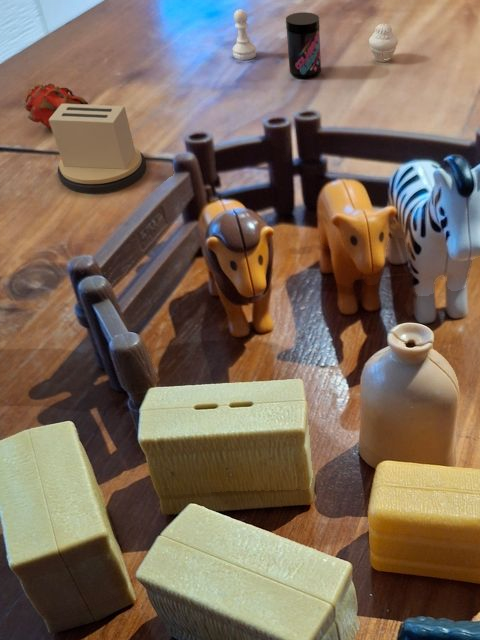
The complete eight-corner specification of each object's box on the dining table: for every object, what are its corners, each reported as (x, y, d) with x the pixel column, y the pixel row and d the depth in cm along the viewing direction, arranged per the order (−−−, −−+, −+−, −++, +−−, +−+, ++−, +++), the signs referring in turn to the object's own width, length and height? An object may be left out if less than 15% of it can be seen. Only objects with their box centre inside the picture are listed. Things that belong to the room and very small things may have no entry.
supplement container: (288, 80, 151) (284, 25, 143) (290, 66, 155) (286, 12, 147) (321, 79, 151) (319, 24, 143) (321, 66, 155) (319, 11, 147)
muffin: (395, 65, 155) (397, 29, 150) (367, 64, 156) (367, 28, 150) (397, 53, 159) (399, 18, 154) (370, 52, 160) (370, 17, 154)
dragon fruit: (31, 134, 140) (95, 141, 142) (16, 124, 132) (84, 132, 133) (30, 86, 138) (95, 94, 140) (15, 73, 130) (84, 82, 131)
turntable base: (66, 201, 121) (64, 194, 121) (54, 160, 130) (51, 153, 129) (155, 182, 125) (153, 176, 124) (136, 144, 134) (135, 137, 133)
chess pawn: (239, 49, 161) (234, 4, 154) (260, 52, 160) (255, 7, 153) (229, 58, 158) (223, 12, 151) (250, 61, 157) (245, 15, 150)
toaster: (151, 146, 130) (140, 95, 124) (128, 186, 122) (114, 133, 115) (76, 142, 132) (61, 92, 125) (48, 182, 123) (29, 130, 116)
